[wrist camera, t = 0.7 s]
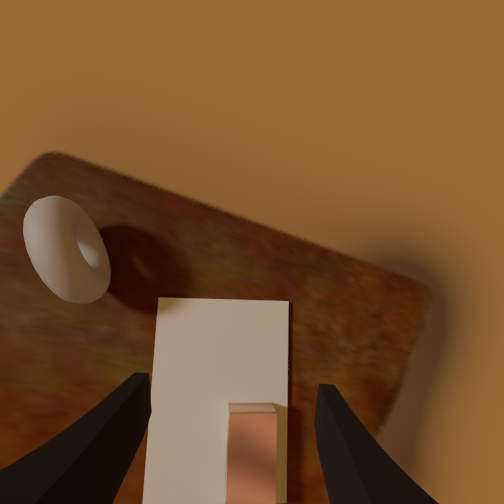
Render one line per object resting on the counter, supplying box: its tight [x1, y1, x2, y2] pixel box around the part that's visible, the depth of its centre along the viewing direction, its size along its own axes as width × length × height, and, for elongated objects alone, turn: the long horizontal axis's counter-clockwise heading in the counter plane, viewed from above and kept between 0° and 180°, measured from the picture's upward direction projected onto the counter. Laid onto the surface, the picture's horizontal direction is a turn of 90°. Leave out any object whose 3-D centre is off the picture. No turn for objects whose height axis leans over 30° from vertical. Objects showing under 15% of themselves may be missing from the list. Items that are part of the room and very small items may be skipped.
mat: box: [143, 297, 289, 504], centre depth 31 cm, size 20×14×1 cm
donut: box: [23, 196, 111, 304], centre depth 27 cm, size 10×3×10 cm, turn 21°
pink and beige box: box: [224, 402, 277, 504], centre depth 28 cm, size 9×4×3 cm, turn 178°
